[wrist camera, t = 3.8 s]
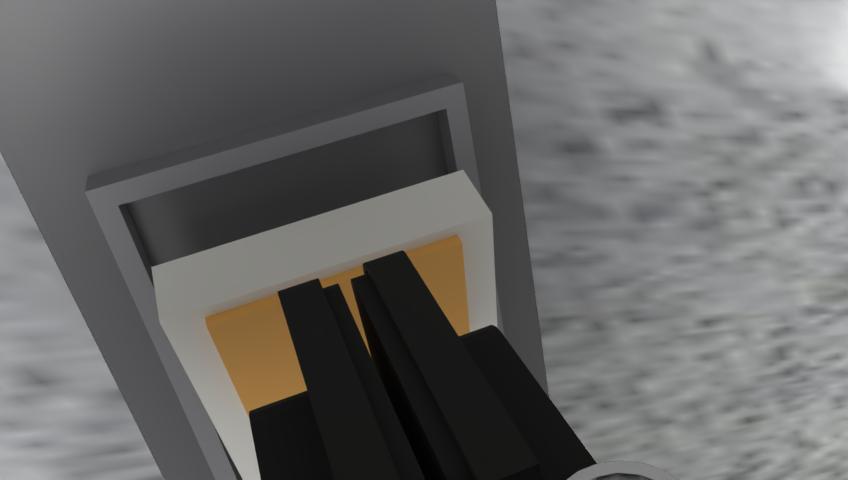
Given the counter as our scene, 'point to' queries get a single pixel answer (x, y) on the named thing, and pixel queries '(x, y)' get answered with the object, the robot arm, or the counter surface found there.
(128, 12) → the rocker switch base
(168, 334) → the rocker
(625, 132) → the counter surface
